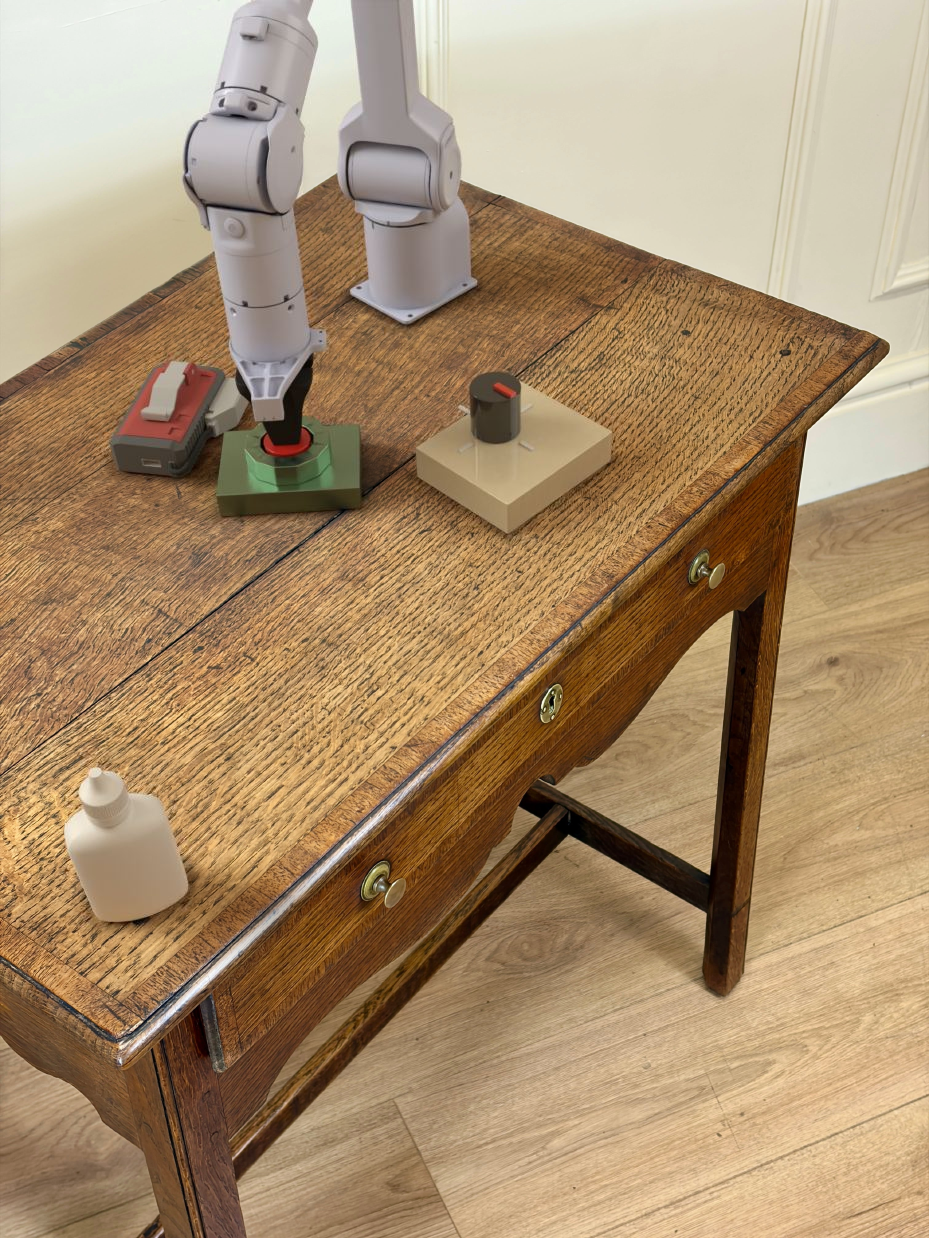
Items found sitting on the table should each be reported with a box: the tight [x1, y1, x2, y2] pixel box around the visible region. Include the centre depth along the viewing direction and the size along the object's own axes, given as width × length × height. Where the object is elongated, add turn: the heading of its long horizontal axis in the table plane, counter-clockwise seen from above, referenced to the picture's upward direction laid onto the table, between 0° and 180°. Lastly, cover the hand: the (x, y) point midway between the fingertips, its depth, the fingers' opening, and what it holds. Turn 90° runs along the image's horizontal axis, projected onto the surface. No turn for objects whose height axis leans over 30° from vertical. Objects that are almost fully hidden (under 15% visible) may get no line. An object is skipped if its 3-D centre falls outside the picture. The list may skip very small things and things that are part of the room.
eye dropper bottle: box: [63, 766, 189, 923], centre depth 73 cm, size 4×6×12 cm
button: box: [264, 428, 311, 458], centre depth 102 cm, size 4×4×2 cm
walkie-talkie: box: [108, 360, 250, 479], centre depth 109 cm, size 9×4×20 cm
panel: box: [414, 380, 613, 535], centre depth 103 cm, size 12×11×3 cm
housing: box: [215, 415, 363, 517], centre depth 102 cm, size 11×8×4 cm
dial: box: [468, 371, 521, 444], centre depth 101 cm, size 4×4×4 cm
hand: (286, 440), depth 101 cm, fingers closed, pressing on button
